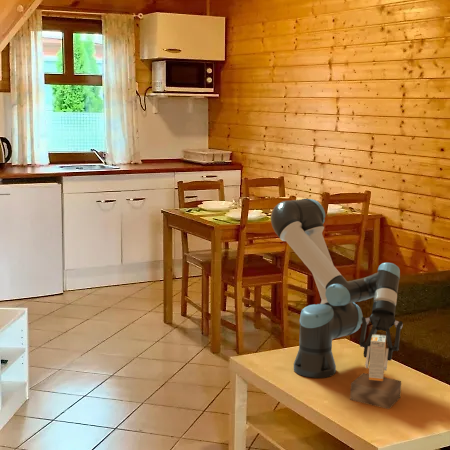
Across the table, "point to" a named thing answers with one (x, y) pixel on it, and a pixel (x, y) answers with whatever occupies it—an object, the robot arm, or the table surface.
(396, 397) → the walnut block
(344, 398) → the table surface
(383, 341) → the supplement box
